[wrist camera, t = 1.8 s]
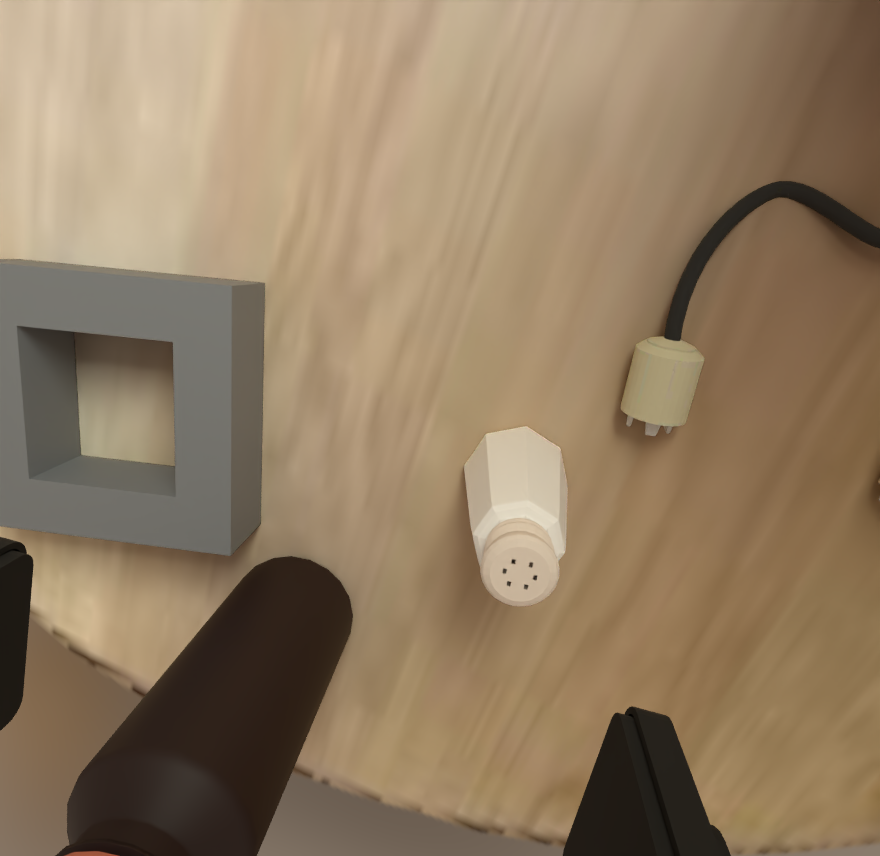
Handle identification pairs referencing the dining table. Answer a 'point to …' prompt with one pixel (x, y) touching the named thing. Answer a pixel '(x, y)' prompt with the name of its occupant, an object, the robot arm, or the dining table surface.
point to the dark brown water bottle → (218, 725)
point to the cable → (668, 357)
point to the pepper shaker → (517, 514)
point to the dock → (195, 406)
